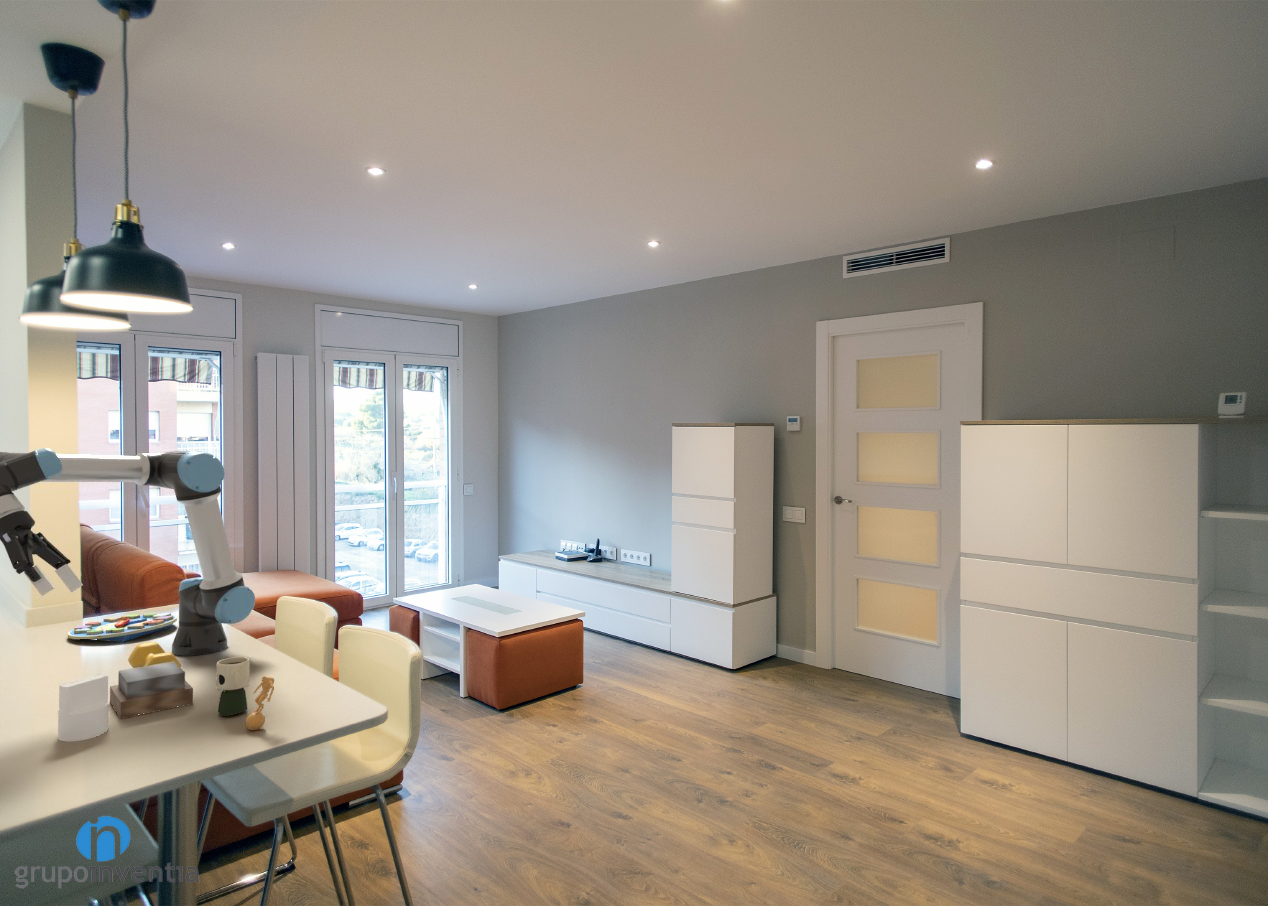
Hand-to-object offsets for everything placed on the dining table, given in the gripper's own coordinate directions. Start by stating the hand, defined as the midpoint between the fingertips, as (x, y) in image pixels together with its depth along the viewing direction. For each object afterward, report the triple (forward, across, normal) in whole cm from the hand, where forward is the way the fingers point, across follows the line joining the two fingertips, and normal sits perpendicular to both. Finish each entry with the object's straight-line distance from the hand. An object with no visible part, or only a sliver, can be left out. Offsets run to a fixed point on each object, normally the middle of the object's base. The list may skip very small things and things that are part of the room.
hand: (63, 590), depth 170 cm
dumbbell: (+27, -32, -8) cm, 43 cm away
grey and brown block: (+33, -10, -4) cm, 35 cm away
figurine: (+54, +13, +19) cm, 59 cm away
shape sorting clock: (+5, -86, -26) cm, 90 cm away
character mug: (+48, +2, +13) cm, 49 cm away
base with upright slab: (+31, +8, -11) cm, 34 cm away
